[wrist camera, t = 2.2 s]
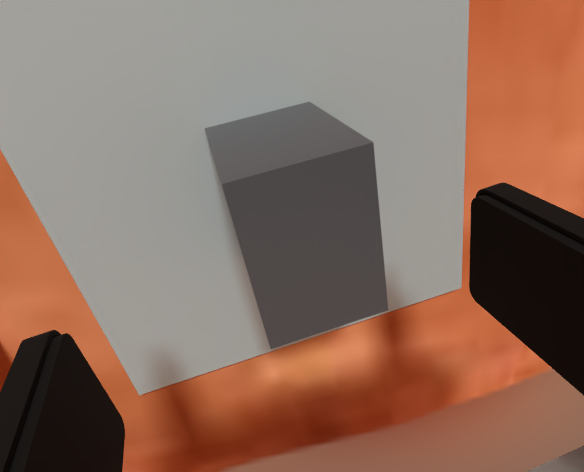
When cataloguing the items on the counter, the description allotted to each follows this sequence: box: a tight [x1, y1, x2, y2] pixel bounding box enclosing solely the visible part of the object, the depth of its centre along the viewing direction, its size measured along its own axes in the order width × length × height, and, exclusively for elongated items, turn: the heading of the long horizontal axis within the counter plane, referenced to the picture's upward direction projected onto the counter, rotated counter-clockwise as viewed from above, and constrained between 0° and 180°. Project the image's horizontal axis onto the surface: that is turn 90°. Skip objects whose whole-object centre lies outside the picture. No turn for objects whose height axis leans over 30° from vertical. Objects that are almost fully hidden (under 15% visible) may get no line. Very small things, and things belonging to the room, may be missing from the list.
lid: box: [0, 0, 469, 395], centre depth 13 cm, size 15×15×6 cm
